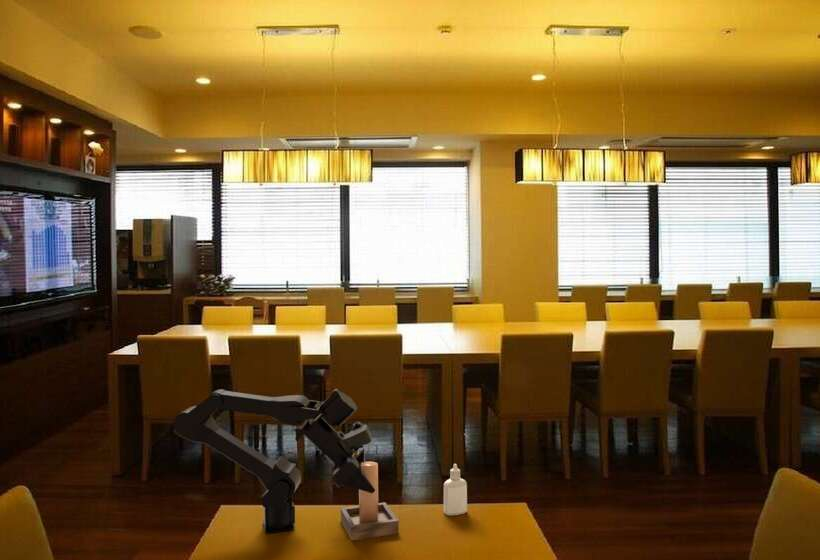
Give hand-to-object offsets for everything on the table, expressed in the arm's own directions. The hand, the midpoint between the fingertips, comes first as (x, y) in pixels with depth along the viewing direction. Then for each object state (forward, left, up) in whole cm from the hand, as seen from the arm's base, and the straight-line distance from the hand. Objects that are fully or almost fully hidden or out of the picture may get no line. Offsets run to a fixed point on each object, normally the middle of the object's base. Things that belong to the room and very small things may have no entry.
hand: (374, 486), depth 147 cm
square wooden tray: (-1, 0, -10) cm, 10 cm away
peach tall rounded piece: (-1, 0, -8) cm, 8 cm away
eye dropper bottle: (+21, +1, -10) cm, 23 cm away
